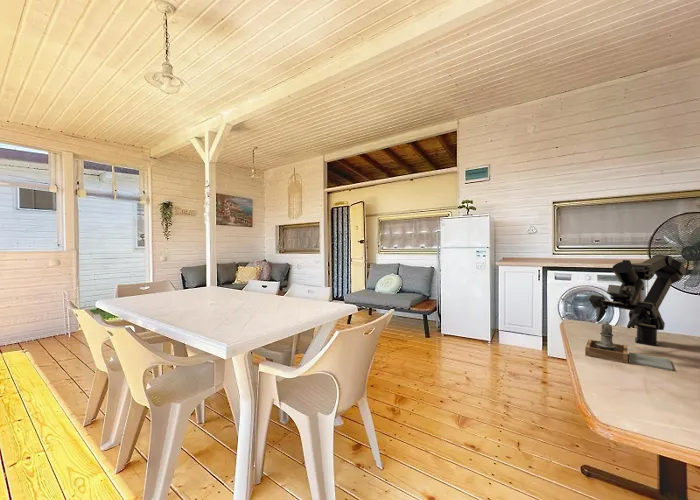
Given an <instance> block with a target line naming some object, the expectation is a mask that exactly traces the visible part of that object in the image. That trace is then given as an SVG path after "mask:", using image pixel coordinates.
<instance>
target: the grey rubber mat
mask: <svg viewBox="0 0 700 500" xmlns="http://www.w3.org/2000/svg"><path fill="white" fill-rule="evenodd" d="M628 357H629V358H628V360H629V362H630V364H635V365H640V366H646V367H650V368H656V369H661V370H666V371H670V372H674V367H673V365H672V362H671V359H669V358H665V357H658V356H653V355H647V354H642V353H634V352H629V353H628Z"/></svg>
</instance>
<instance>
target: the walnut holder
mask: <svg viewBox="0 0 700 500" xmlns="http://www.w3.org/2000/svg"><path fill="white" fill-rule="evenodd" d="M600 341H601V340H594V339H587V342H586V344H585V346H584V347H585V348H584V349H585V351H584V352H585V353H584V354H585V356H587V357H591V358H596V359H600V360H601V359H602V360H606V361H611V360H612V362H616V361H617V363H621V362H622V363H623V364H628V348H629V347H628V345H625V344H619V343H614V342H613V344H614V345H616V346H617V348H616V351H609V350H603V349H598V347H597V344H596V343H597V342H600Z"/></svg>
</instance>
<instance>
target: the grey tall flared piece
mask: <svg viewBox="0 0 700 500" xmlns="http://www.w3.org/2000/svg"><path fill="white" fill-rule="evenodd" d="M599 333H600V337H601V338H600V340H599V341H600V342H597V343H596V344H597V347H598V349H603V350H609V351H616V348H617V346H616V345H614V344H615V343H614V342H613V336H614V334H613V326H612V325H611V324H609V322H608V321H605V323H602V324H601V332H599ZM613 343H614V344H613Z"/></svg>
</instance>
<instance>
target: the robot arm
mask: <svg viewBox="0 0 700 500" xmlns="http://www.w3.org/2000/svg"><path fill="white" fill-rule="evenodd" d="M612 271H613V273H614V275H615V277H616V278H617V280H618V282H621V284H620V285H618V284H617V285H616V284H608V287H607V291H606V293H607V294H608V295H610V296H609V297H610V299H611V300H607V299H606V298H605V297H604V296H602V295H597V294H592V295H590V297H589V298H588V302H589V303H590V304H591V306H592V308H594V309H595V311H596V313H595V315H596V316H595V317H596V319H595V320H596V322H597V323H599V322H600V321H601V320H602V319H603V318H604V316H605V314H606V313H607V309H608V307H611V308H618V309H621V310H627V311H629V312H628V317H629V318H628V319H629V321H628V322H627V325H626V328H627V329H631V328H633V327H635V326H636V337H634V341H635V343H636V344H637V343H638V344H644V345H651V346H657V347H659V346H660V344H659V341H658V331H665V325H666V324H665V321H664V320H663V318H662V315H661V313H660V309H659V308H660V307H661V305H662V303H663V301H664V299H665V297H666V296H667V294H668V292H669V290H670V288H671V286H672V285H673V284H675V283H678V282H680V281H681V280H682V279H683V277H684V276H685V275H686V274H687V268H686V266H685V265H684V264H683V262H681V261H679V260H676V259H675V258H673V257H672V255H668V254H655V255H652V257H650V258H648V259H646V260H645V261H642V262H638V263H637V262H635V263H632V261H631V260H630V259H623V260H622V261H620V262H617V263H616V264H614V265H612ZM655 275H656V278H655V280H654V282H653V284H652V285H651V286H650V289H649V291H648V292H647V294H646V295H645V298H644V299H643V301H639V295H640V293H641V291H645V286H644V285H645V283H644V282H643V281H650V280H652V279H653V277H655Z"/></svg>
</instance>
